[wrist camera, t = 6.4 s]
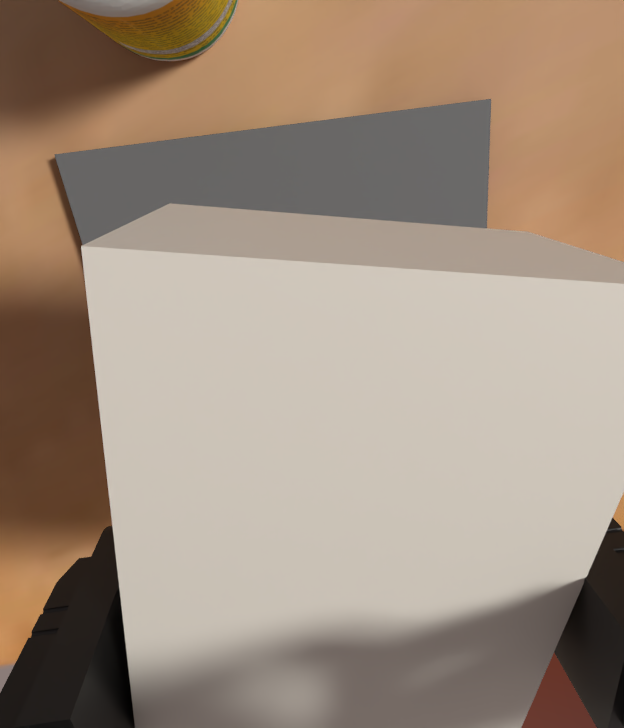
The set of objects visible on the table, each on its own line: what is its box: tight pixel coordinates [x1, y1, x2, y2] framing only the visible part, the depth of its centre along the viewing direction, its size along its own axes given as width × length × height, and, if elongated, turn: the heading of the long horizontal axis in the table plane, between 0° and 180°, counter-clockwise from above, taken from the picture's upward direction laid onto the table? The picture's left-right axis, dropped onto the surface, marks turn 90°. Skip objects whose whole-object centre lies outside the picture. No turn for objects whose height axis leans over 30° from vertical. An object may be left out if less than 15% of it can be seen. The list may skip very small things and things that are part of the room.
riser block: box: [81, 203, 624, 728], centre depth 9 cm, size 6×12×4 cm, turn 175°
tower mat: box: [55, 99, 491, 245], centre depth 21 cm, size 16×16×1 cm
